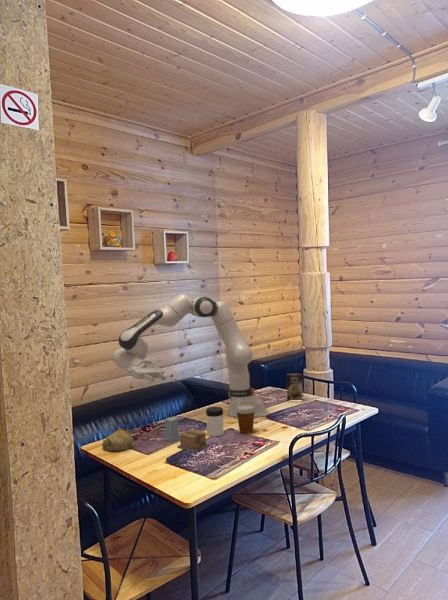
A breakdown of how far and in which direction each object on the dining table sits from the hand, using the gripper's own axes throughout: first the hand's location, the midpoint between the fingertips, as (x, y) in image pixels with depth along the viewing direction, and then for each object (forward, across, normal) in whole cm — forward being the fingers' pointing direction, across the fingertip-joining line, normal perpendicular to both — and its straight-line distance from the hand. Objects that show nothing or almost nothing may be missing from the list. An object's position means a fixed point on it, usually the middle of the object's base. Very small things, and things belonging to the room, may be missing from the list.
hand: (159, 379), depth 211 cm
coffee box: (+40, +85, 0) cm, 94 cm away
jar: (+29, +17, +16) cm, 38 cm away
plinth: (+30, -1, +19) cm, 35 cm away
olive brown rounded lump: (+2, -15, +32) cm, 35 cm away
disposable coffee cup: (+40, +26, +11) cm, 49 cm away
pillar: (+17, +2, +23) cm, 29 cm away
